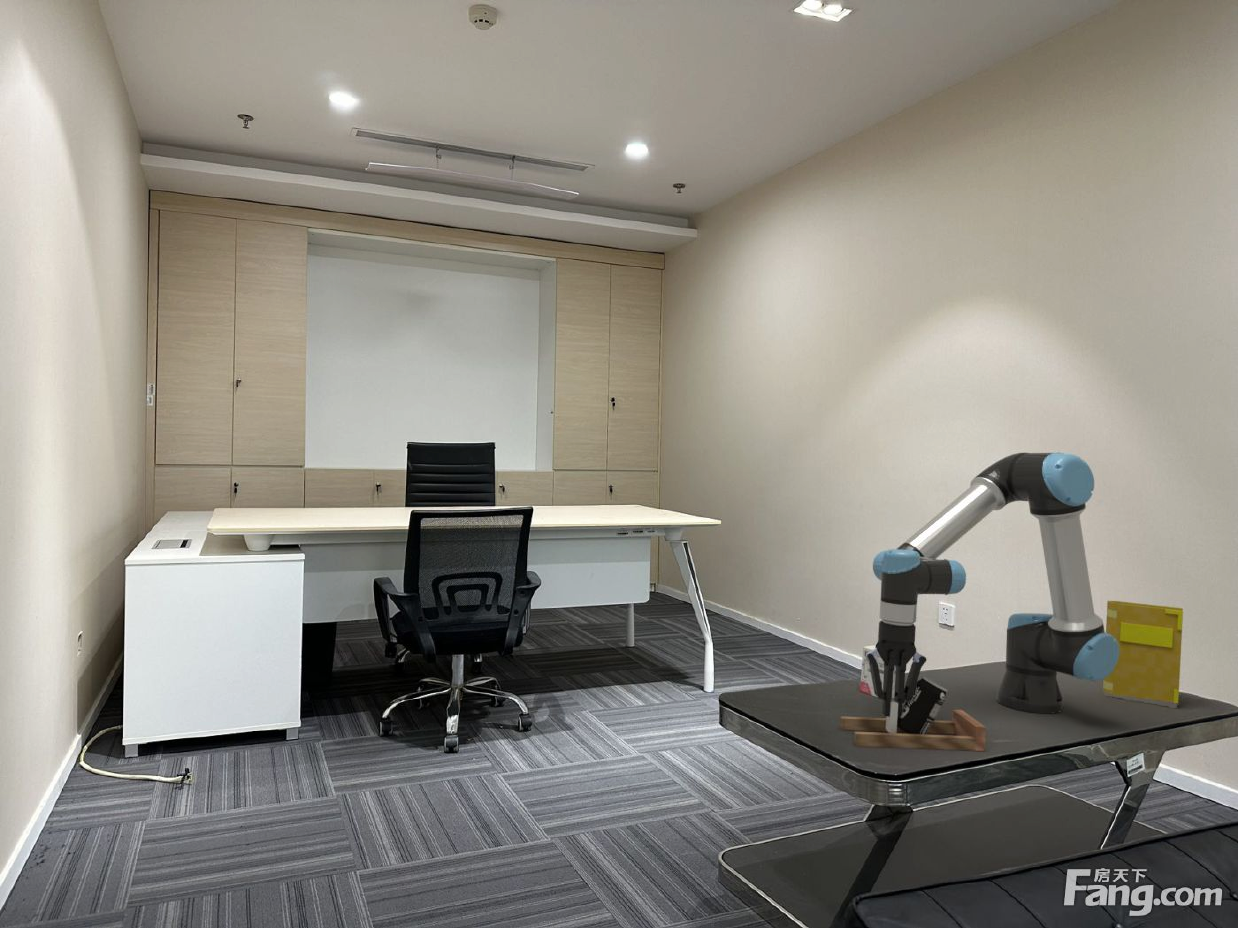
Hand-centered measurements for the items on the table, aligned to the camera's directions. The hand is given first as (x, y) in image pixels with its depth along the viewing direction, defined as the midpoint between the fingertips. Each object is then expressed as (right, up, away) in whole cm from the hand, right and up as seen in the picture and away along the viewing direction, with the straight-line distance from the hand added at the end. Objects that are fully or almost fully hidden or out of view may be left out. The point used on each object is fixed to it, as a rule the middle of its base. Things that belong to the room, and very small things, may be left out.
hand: (891, 731), depth 184 cm
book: (+79, -5, +42) cm, 90 cm away
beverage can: (+4, 0, 0) cm, 4 cm away
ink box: (+8, -2, +35) cm, 36 cm away
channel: (+4, -2, 0) cm, 4 cm away
